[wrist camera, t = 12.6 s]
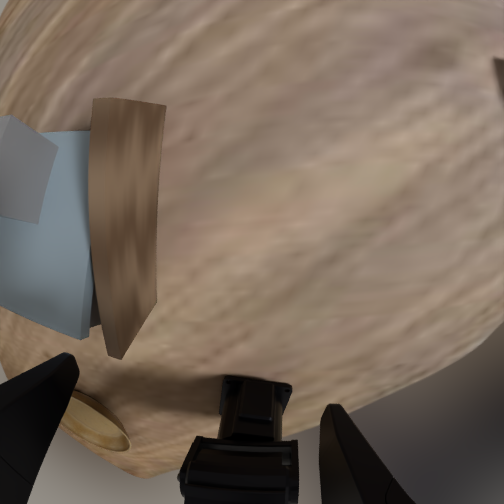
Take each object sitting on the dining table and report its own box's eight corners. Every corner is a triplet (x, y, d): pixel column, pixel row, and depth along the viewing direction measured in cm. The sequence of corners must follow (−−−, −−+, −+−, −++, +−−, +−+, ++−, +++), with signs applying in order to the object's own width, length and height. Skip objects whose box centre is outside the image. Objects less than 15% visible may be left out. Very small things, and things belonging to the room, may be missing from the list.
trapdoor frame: (156, 302, 23) (121, 359, 16) (17, 264, 23) (-26, 296, 17) (166, 105, 17) (111, 97, 10) (7, 117, 17) (-49, 127, 11)
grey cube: (38, 224, 14) (-19, 210, 9) (-4, 216, 14) (-54, 203, 9) (58, 147, 14) (11, 114, 9) (14, 148, 14) (-30, 123, 9)
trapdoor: (117, 326, 19) (80, 339, 14) (-2, 283, 19) (-39, 284, 14) (147, 160, 19) (120, 130, 14) (23, 156, 20) (-10, 138, 15)
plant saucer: (135, 408, 30) (128, 423, 28) (137, 450, 36) (133, 462, 34) (42, 362, 30) (32, 374, 27) (61, 415, 36) (55, 425, 33)
